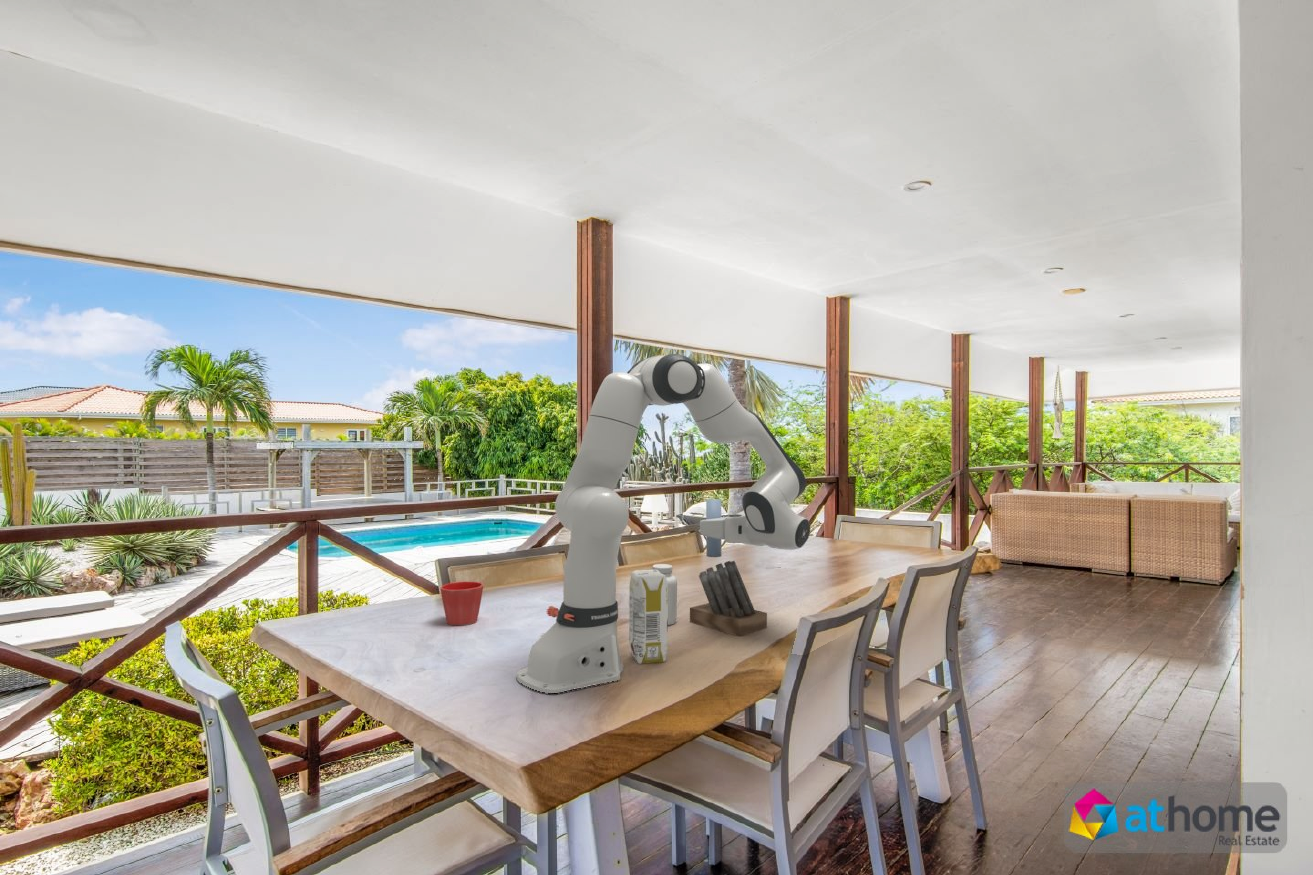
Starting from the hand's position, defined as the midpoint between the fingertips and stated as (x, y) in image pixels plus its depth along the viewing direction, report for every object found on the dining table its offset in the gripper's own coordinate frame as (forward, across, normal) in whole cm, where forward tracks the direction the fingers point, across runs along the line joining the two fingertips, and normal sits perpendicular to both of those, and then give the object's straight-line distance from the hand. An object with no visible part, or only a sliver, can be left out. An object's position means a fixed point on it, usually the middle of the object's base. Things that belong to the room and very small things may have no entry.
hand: (711, 521), depth 179 cm
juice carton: (-11, +33, +26) cm, 44 cm away
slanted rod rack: (-6, 0, +27) cm, 28 cm away
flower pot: (+44, +50, +26) cm, 71 cm away
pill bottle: (+8, +11, +26) cm, 30 cm away
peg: (-1, 0, +9) cm, 9 cm away
